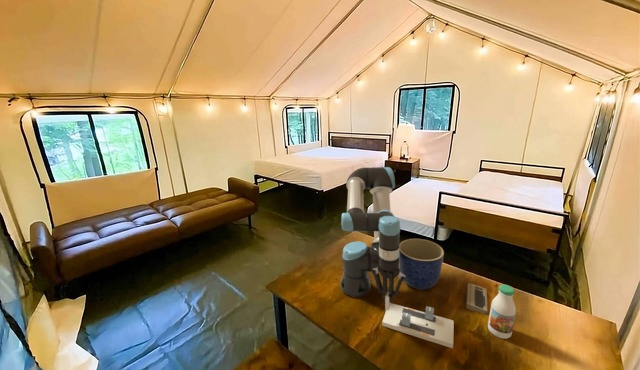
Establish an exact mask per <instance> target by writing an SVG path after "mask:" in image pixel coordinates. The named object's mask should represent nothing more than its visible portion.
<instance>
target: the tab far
mask: <svg viewBox="0 0 640 370" xmlns="http://www.w3.org/2000/svg"><path fill="white" fill-rule="evenodd" d="M434 311H435V308H434V307H431V306H428V305H426V307H425V318H426V319H430V320H433V315H435V314H434V313H435V312H434Z"/></svg>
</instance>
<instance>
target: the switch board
mask: <svg viewBox="0 0 640 370" xmlns="http://www.w3.org/2000/svg"><path fill="white" fill-rule="evenodd" d="M403 312H405V313H408V314H411V323H410V327H408V326H405V325H402V315H403ZM425 312H426V311H425ZM425 312H424V311H420V310H417V309H414V308H410V307H406V306H403V305H400V304H396V303H393V302H392V303H390V308H389V310H386V309H385V313H384V316H383V319H382V321H381V322H382V324H381V326H382V327H384V328H388V329H391V330H394V331H397V332H400V333H404V334H407V335H410V336H412V337H416V338H419V339H422V340H425V341H429V342H431V343H434V344H438V345H440V346H444V347H447V348H450V349H454V336H455V335H454V330H455V329H454V328H455V327H454V325H455V324H454V322H455V321H454V320H452V319H449V318H446V317H443V316H440V315H439V316H438V315H435V314H434V315H433V320H430V319H426V318H425Z"/></svg>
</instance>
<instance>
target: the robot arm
mask: <svg viewBox="0 0 640 370" xmlns="http://www.w3.org/2000/svg"><path fill="white" fill-rule="evenodd" d="M345 186H346V189H347V200H346V201H347V203H346V204H347V205H346V212H343V213H341V219H340V220H341V222H340V223H341V229H342V231H344V232H345V231H346V232H373V236H374V237H373V241H371V246H368V245H367V244H366V243H365V242H363V241H352V242H349V243H347V244H346V245H344V247H343V249H342V260H343V261H342V263H343V264H342V267H343V274H342V276H341V278H340V279H341V280H340V283H339V284H340V286H341V287H340V286H339V287H340V290H341V289H342V290H341V292H342V291H343V292H344V293H346V294H347V295H346V294H345V295H346V296H348V295H350V296H349V297H351V296H354V297H353V298H361V297H360V296H362V297H365V296H367V295H368V294H369V293H370V292H371V290H372V284H371V281H370V278H369V275H368V272H371V273H372V275H373V276H374V280H375V286H376V288H377V292H378V293H381V294H382V301H384V303H385V304H384V306H385V307H384V310H385V311H386V310H389V308H390V303H393V302H394V297H397V296H398V294H399V291H400V289H401V285H402V283H403V282H405V281H404V279H405V276H406V275H405V274H402V273H401V272H400V269H399V259H400V249H399V244H400V238H401V237H400V235H401V234H400V233H401V221H400V219H399V218H397V217H395V215H394V214H393V212H392V211H391V200H390V199H391V197H390V194H391V193H392V192H393V190H394V189H395V188H396V179H395V174H394V170H393V169H392V168H391V167H389V166H386V167H385V166H381V167H379V166H378V167H375V166H374V167H360V168H358V169H355V170H354V171H352V173H350V174H349V176H348V177H347V180H346V185H345ZM364 190H369V193H370V194H371V195H372V209H373V210H372V212H365V205H364V204H365V202H364ZM380 275H381V276H382V280H381V277H380ZM397 276H398V281H397V284H396V287H395V290H394V285H395V280H394V279H395V278H397ZM388 281H389V283H388ZM388 284H389V285H388ZM388 287H389V288H388ZM388 290H389V291H388ZM343 292H342V293H343ZM344 293H343V294H344ZM366 294H367V295H366ZM364 295H365V296H364Z"/></svg>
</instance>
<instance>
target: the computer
mask: <svg viewBox="0 0 640 370" xmlns="http://www.w3.org/2000/svg"><path fill="white" fill-rule="evenodd" d="M465 299H466V301H465V309H467V310H470V311H473V312H477V313H479V314H480V313H481V314H484V315H488V313H489V311H488V310H489V309H488V290H487V288H486V287H483V286H480V285H477V284H474V283H467V286H466V298H465Z"/></svg>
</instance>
